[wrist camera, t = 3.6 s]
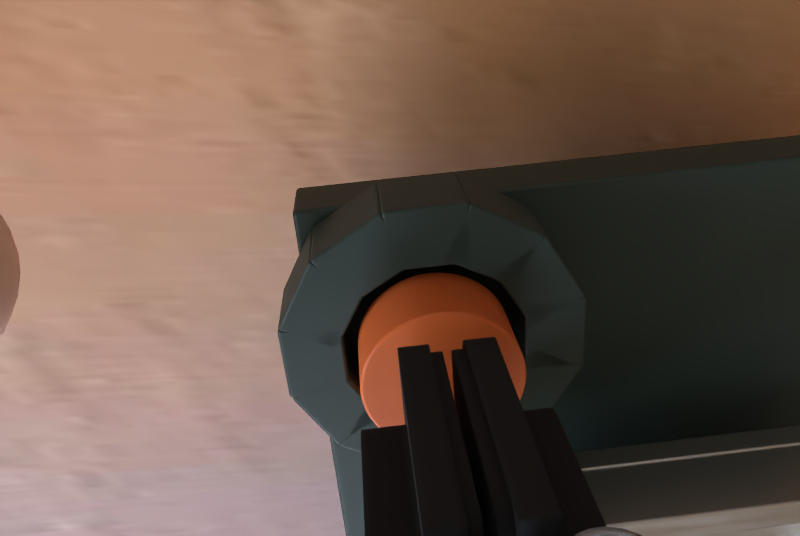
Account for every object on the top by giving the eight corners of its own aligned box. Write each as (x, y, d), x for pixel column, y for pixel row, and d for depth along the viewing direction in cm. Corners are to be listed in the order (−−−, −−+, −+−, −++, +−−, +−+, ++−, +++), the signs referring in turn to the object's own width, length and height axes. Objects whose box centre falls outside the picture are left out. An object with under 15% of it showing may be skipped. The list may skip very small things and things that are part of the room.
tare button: (349, 280, 13) (350, 323, 12) (507, 262, 13) (527, 303, 12) (366, 407, 14) (369, 459, 13) (509, 391, 14) (527, 440, 13)
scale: (271, 169, 15) (255, 225, 12) (889, 104, 15) (1007, 145, 12) (357, 659, 22) (360, 761, 19) (768, 606, 23) (826, 698, 20)
